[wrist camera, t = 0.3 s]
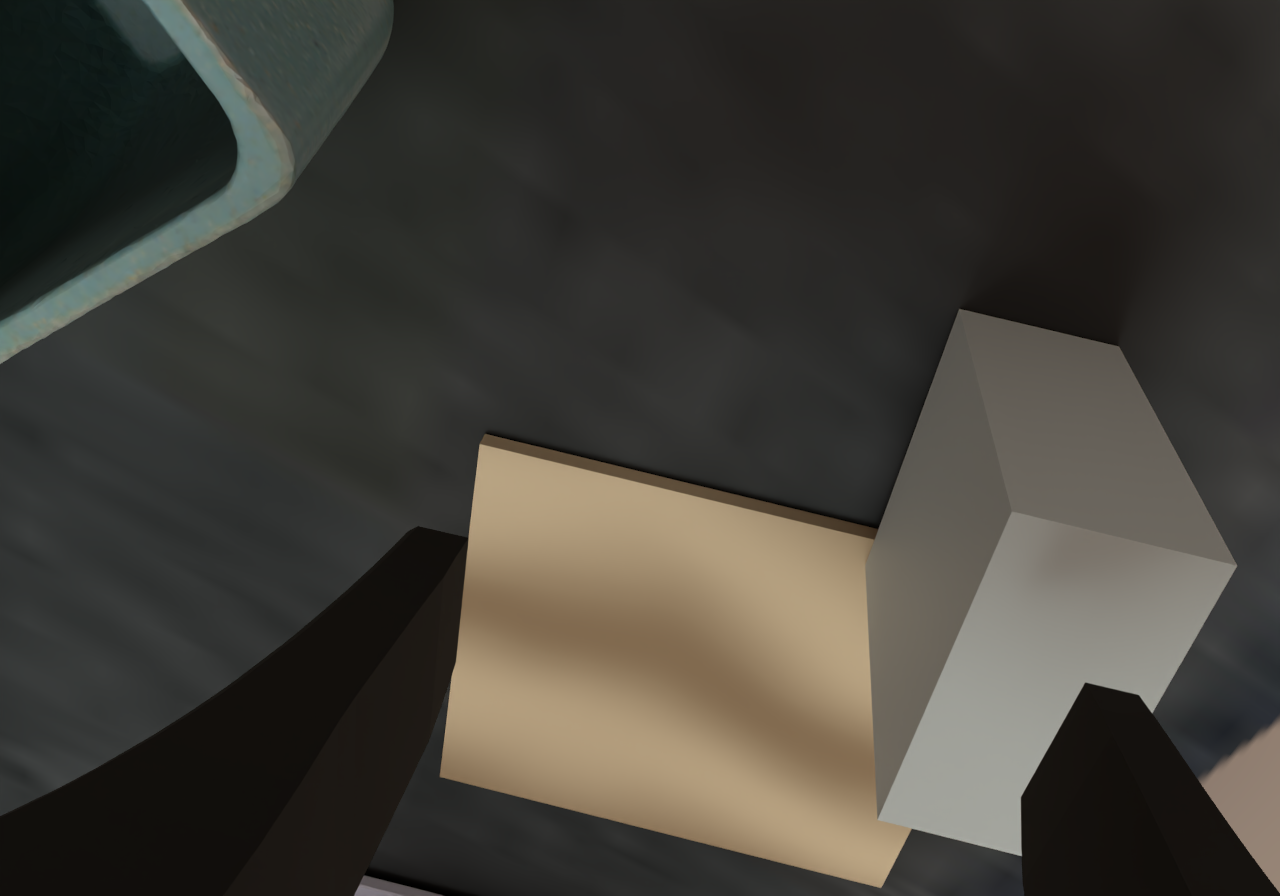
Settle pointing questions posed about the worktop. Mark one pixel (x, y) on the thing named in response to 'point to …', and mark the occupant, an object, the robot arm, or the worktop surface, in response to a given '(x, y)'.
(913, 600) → the slab
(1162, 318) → the worktop surface
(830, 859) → the board
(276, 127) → the flower pot
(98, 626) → the worktop surface
